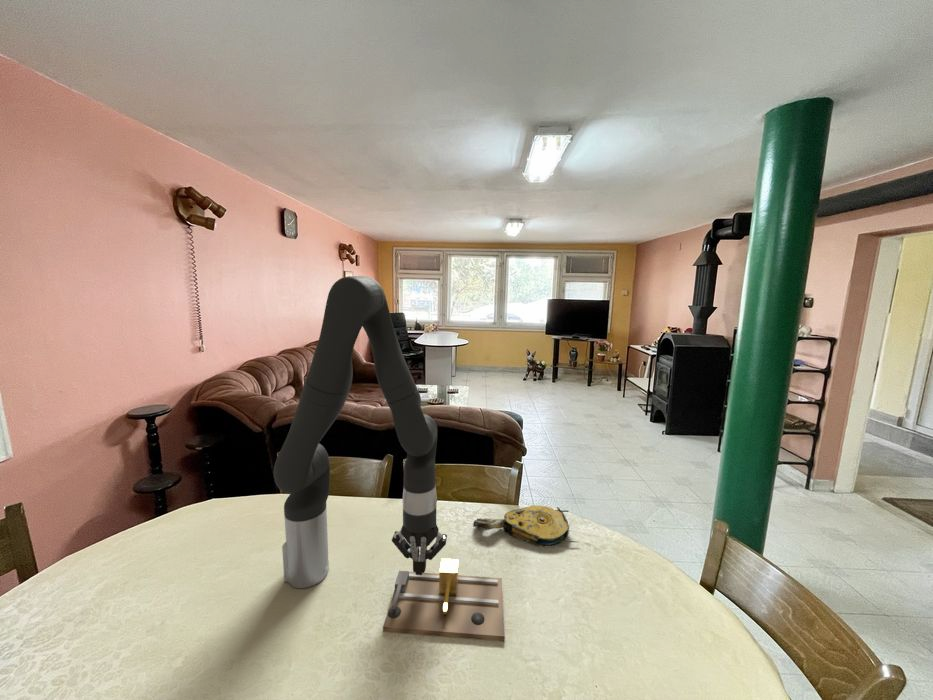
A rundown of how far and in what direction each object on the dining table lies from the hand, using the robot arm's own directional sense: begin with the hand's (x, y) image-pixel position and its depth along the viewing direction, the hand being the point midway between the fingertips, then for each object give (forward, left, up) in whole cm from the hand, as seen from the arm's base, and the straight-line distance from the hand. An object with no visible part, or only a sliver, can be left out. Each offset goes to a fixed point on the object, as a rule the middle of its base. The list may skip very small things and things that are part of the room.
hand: (419, 572), depth 83 cm
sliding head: (+7, -3, -4) cm, 8 cm away
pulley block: (+27, +25, -6) cm, 37 cm away
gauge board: (+7, -3, -5) cm, 9 cm away
